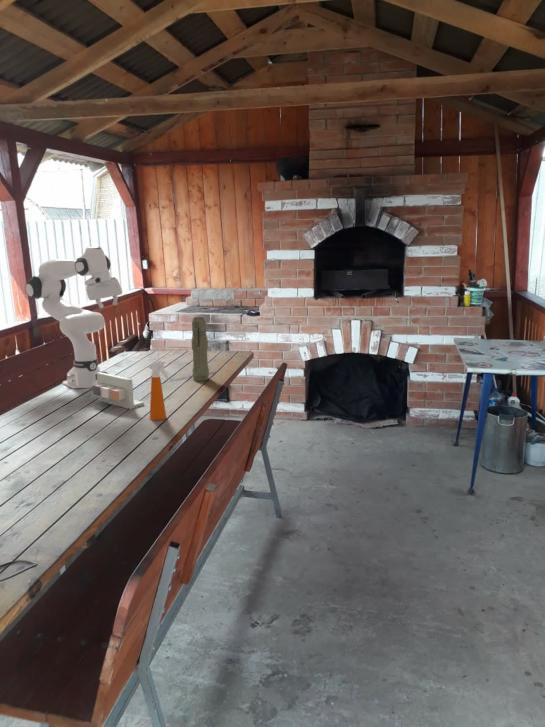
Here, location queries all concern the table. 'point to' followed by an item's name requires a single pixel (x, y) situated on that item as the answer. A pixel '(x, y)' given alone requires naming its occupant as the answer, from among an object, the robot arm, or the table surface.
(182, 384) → the table surface
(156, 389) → the spray bottle
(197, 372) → the green thermos flask
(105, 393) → the button cream
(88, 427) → the table surface
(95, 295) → the robot arm
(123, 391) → the button terracotta
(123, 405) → the panel
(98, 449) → the table surface
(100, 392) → the button charcoal
